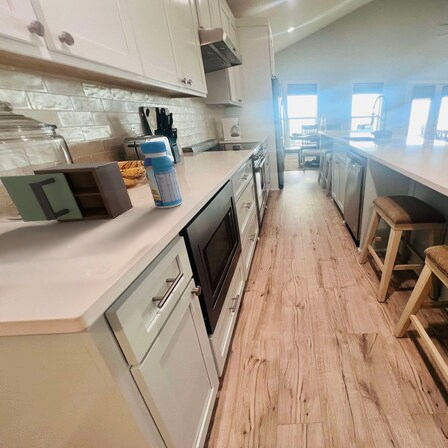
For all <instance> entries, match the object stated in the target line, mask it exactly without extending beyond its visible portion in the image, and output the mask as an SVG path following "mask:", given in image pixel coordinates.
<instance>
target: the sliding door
mask: <svg viewBox="0 0 448 448" xmlns="http://www.w3.org/2000/svg"><path fill="white" fill-rule="evenodd" d="M0 181H1V183H2V185H3V187H4V189H5V190H6V192H7V194H8V195H9V197H10V199H11V201H12V203H13V204H14V206H15V209H16V210H17V212H18V213H19V215H20V217H21V219H22V221H23V222H24V223H29V222H30V223H31V222H44V221H45V222H46V221H48V222H49V221H50V222H51V221H57V220H63V219H79V218H83V217H82V214H81V212H80V210H79V208H78V205H77V203H76V201H75V199H74V196H73V194H72V192H71V190H70V187H69V185H68V183H67V181H66V178H65V176H64V174H63V173H57V174H39V175H35V174H25V175H24V174H22V175H5V176H3V175H2V176H0Z"/></svg>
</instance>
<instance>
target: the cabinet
mask: <svg viewBox="0 0 448 448" xmlns="http://www.w3.org/2000/svg"><path fill="white" fill-rule="evenodd" d="M32 172H33V175H39V174H57V173H63V174H64V176H65V178H66V181H67V183H68V185H69V187H70V190H71V192H72V194H73V196H74V199H75V201H76V203H77V205H78V208H79V210H80V212H81V214H82V217H83V218H79V219H63V220H56V221H57V222H58V223H65V222H77V221H78V222H79V221H94V220H110V219H111V220H112V219H115V218H118V217H119V216H120V215H122V214H124V213H125V212H128V211H130V209H132V208H134V205H133V203H132V199H131V198H130V197H131V196H130V194H129V192H128V191H129V190H128V189H127V185H126V182H125V180H124V177H123V174H122V171H121V168H120V165H119V163H118V161H99V162H81V163H64V164H60V165H53V166H49V167H44V168H39V169H34V170H32Z"/></svg>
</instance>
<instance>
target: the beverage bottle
mask: <svg viewBox="0 0 448 448" xmlns="http://www.w3.org/2000/svg"><path fill="white" fill-rule="evenodd" d="M139 147H140V151H141V154H142V155H143V156H145V157H144V159H143V165H142V167H143V169H144V170H145V174H144V175H145V178H146V179H147V183H148V187H149V189H150V193H151V195H152V199H153V202H154V206H155V207H156V208H157V209H170V208H175V207H178V206H180V205H181V204H182V203H183V198H182V196H181V190H180V187H179V183H178V179H177V172H176V170H175V169H174V167H173V166H174V162H173V160H172V159H171V158H170V157H169V156H168V155H167V154H166V153H168V151H167V150H168V149H167V145H166V143H165V141H161V140H158V141H157V140H156V141H147V142H140V143H139Z"/></svg>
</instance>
